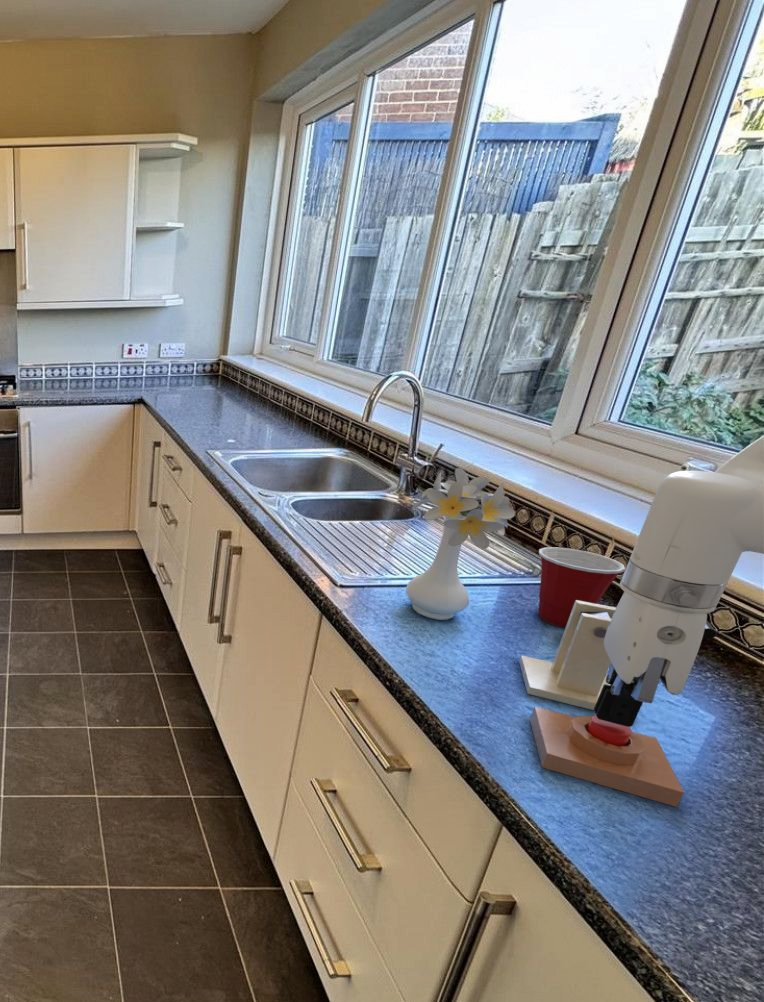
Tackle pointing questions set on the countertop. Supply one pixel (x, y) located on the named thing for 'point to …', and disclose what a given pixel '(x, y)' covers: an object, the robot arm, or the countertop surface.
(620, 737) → the red button
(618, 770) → the control block
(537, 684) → the lever bracket
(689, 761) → the countertop surface
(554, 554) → the plastic cup
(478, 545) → the flower vase
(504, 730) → the countertop surface
